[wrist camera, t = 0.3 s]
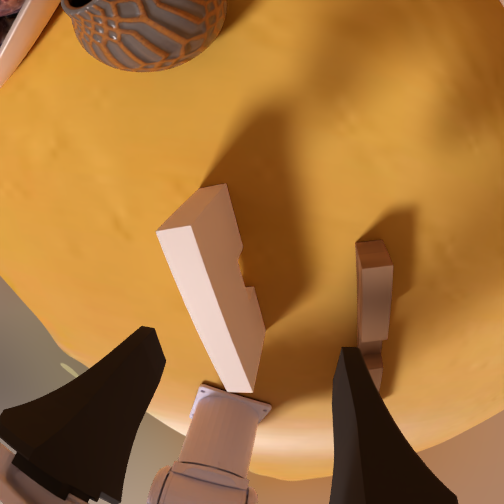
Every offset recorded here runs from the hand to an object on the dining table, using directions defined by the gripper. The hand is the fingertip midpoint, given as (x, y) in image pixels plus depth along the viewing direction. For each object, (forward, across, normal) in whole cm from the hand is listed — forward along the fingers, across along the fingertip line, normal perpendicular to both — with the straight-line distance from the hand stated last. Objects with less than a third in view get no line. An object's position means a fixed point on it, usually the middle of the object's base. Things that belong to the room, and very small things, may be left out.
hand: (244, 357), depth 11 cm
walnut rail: (+10, -8, +9) cm, 16 cm away
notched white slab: (+10, +2, +2) cm, 10 cm away
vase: (+10, +5, -14) cm, 18 cm away
